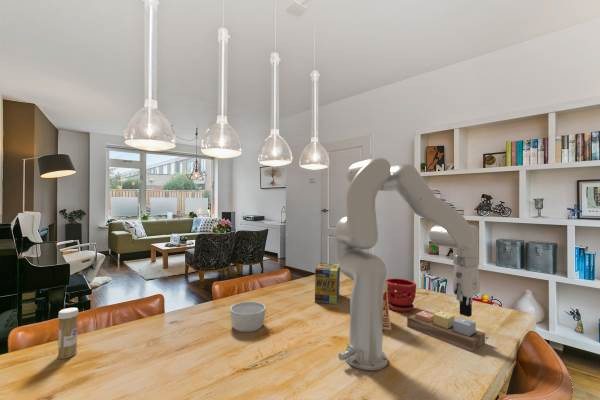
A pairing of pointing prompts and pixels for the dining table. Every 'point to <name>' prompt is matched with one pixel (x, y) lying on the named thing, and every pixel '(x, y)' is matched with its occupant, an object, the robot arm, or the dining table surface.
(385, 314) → the milk carton
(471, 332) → the tile
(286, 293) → the dining table surface
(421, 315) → the three-pip tile
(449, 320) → the tile
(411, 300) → the plant pot
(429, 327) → the wooden tile rack
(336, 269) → the protein box
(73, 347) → the sprinkles bottle
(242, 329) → the ramekin
